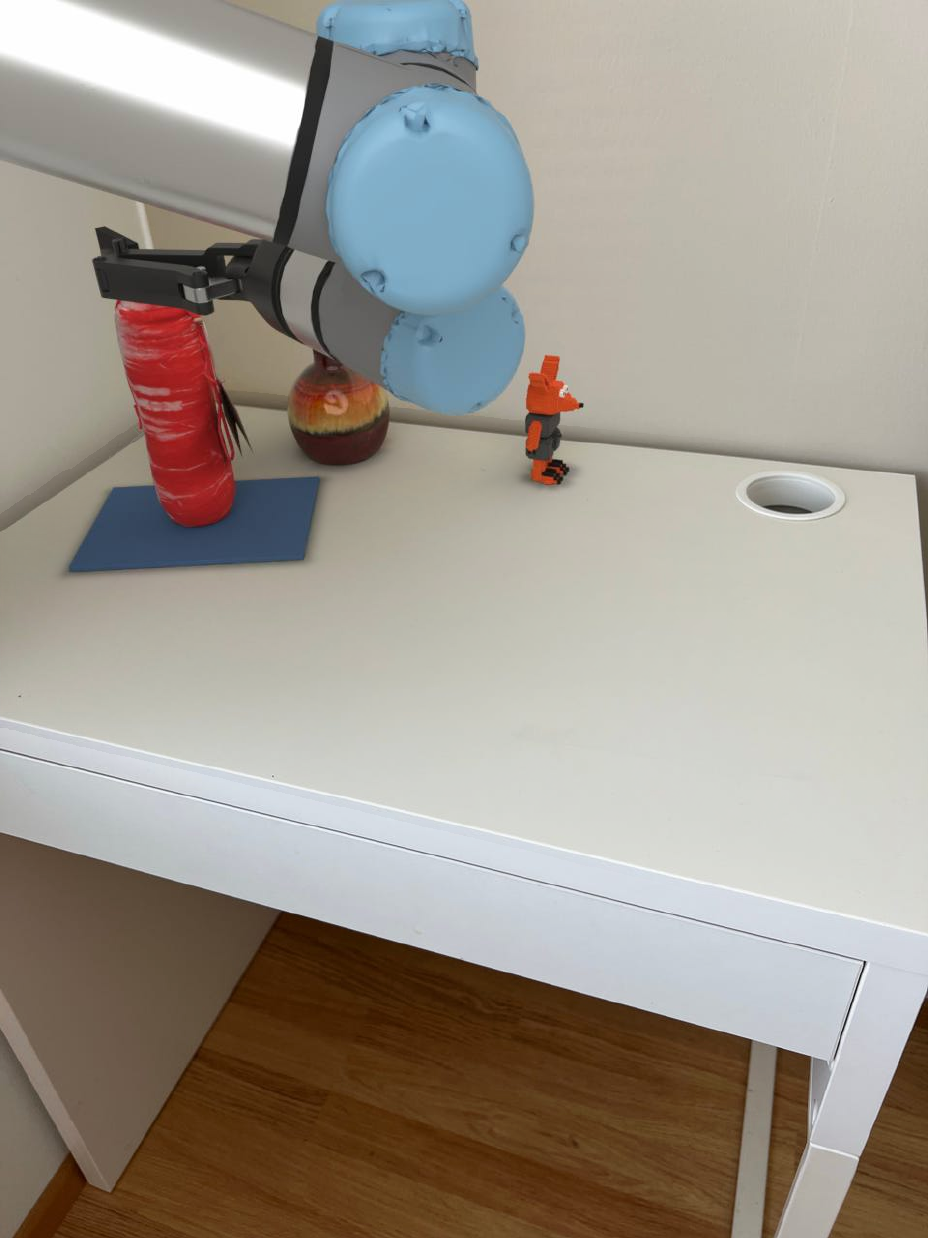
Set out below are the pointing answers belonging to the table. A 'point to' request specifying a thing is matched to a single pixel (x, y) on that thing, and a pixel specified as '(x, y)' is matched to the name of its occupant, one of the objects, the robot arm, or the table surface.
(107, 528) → the blue mat
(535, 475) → the toy animal
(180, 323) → the water bottle
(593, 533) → the table surface
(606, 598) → the table surface
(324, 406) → the vase
